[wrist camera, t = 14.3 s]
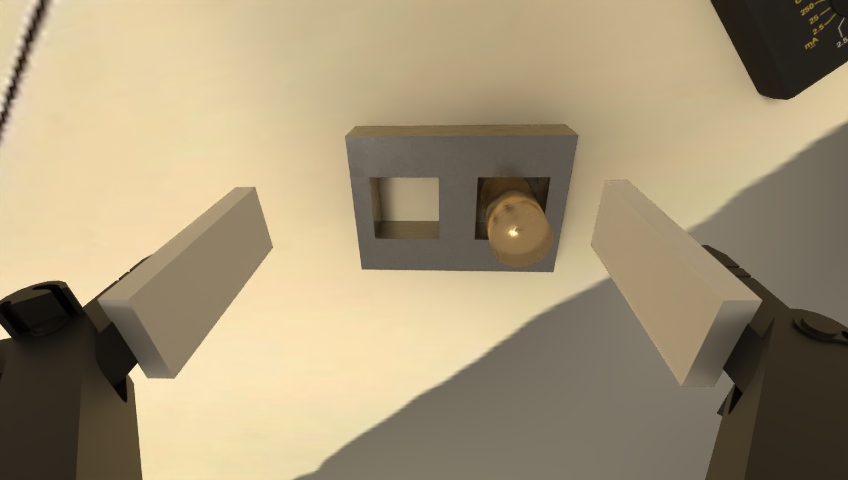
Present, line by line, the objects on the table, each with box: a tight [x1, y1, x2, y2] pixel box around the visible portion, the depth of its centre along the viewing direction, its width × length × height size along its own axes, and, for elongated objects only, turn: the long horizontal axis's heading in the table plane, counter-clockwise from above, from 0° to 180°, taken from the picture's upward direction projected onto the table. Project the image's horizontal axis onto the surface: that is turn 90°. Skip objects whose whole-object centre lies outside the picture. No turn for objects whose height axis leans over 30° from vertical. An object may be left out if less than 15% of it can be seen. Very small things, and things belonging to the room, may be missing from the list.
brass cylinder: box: [481, 177, 553, 267], centre depth 34 cm, size 5×5×10 cm
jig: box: [345, 125, 578, 272], centre depth 37 cm, size 20×14×4 cm
